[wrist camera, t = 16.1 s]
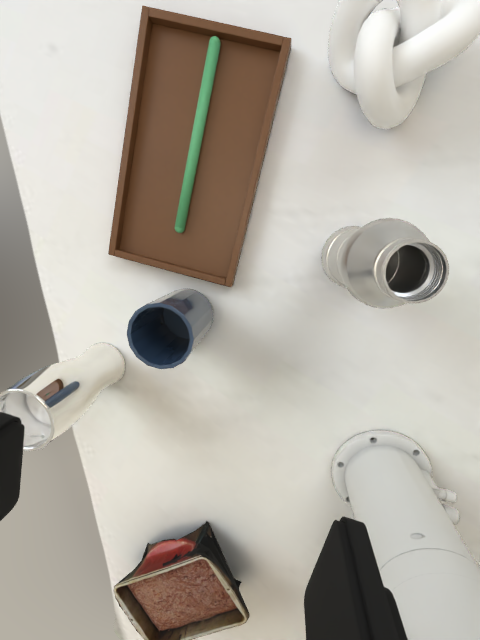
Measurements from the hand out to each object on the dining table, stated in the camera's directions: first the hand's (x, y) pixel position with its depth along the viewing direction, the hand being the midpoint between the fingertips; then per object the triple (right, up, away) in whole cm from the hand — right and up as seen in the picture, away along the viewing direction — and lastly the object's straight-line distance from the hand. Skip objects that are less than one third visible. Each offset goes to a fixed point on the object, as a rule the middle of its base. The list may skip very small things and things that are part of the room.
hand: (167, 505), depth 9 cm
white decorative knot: (+17, +31, +24) cm, 43 cm away
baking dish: (-5, -33, +42) cm, 54 cm away
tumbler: (-5, +6, +33) cm, 34 cm away
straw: (-5, +19, +33) cm, 38 cm away
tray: (-3, +24, +28) cm, 37 cm away
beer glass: (-17, -1, +36) cm, 40 cm away
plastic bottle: (+15, +13, +29) cm, 35 cm away
